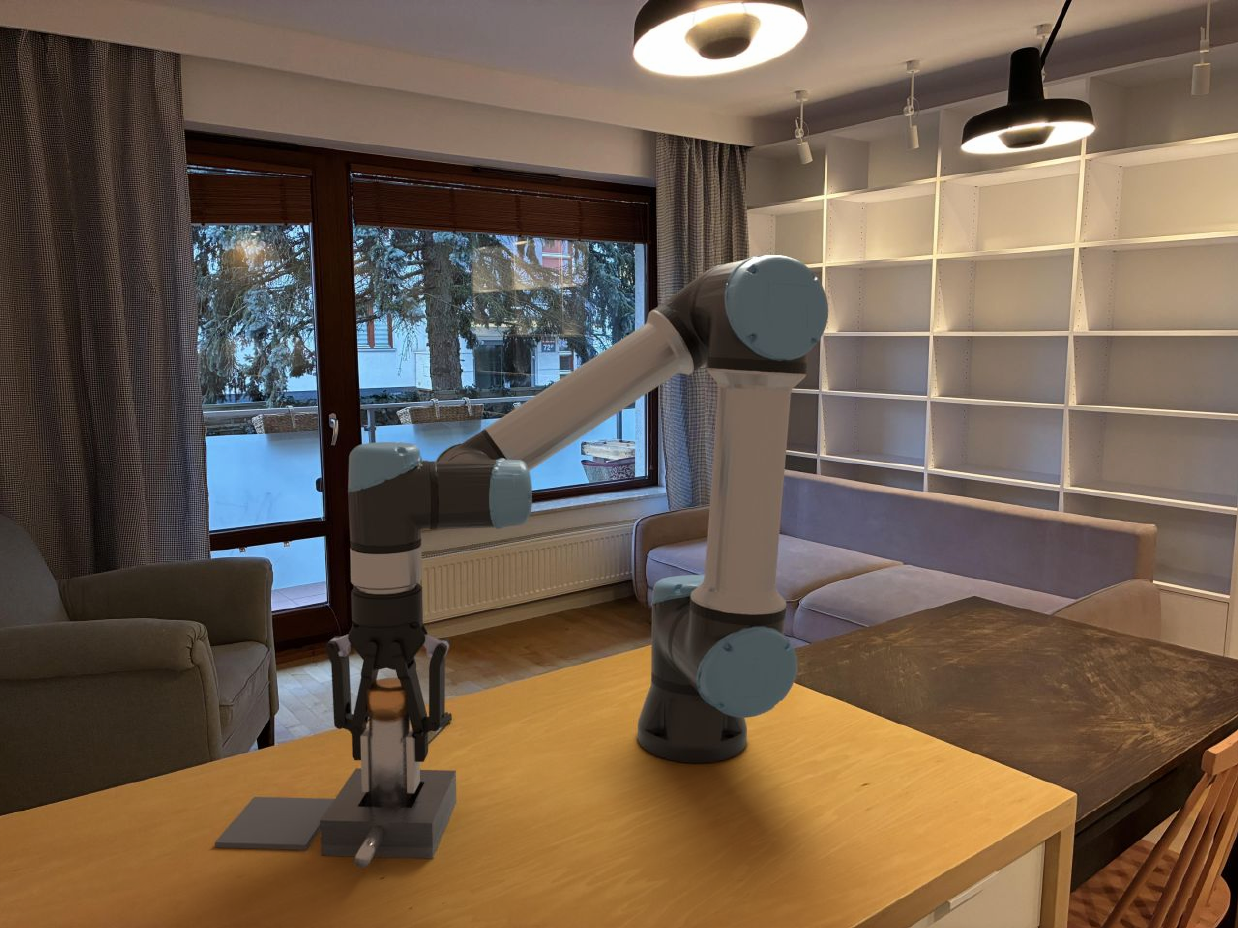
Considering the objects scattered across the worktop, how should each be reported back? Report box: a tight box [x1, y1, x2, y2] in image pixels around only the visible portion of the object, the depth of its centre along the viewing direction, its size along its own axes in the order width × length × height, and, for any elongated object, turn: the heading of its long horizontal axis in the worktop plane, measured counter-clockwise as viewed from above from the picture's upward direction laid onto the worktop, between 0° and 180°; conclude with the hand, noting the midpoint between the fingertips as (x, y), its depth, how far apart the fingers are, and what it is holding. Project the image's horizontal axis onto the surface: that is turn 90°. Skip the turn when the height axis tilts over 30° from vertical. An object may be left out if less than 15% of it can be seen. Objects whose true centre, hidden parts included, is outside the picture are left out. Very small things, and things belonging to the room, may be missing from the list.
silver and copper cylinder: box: [367, 677, 412, 808], centre depth 102 cm, size 5×5×15 cm
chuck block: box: [320, 767, 457, 869], centre depth 101 cm, size 12×17×4 cm
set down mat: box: [214, 796, 335, 851], centre depth 104 cm, size 10×10×1 cm
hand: (391, 786), depth 103 cm, fingers closed on silver and copper cylinder, 4 cm apart
